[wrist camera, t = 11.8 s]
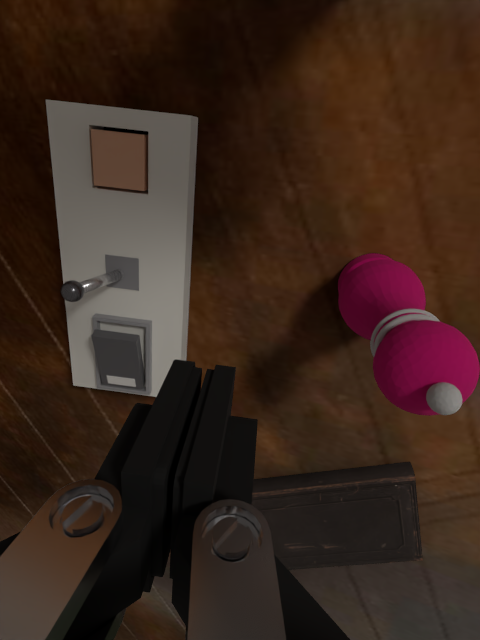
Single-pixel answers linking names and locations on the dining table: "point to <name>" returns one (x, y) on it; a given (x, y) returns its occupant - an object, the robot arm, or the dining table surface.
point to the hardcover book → (342, 516)
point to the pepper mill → (406, 337)
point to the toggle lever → (88, 285)
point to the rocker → (119, 358)
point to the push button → (120, 159)
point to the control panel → (125, 237)
